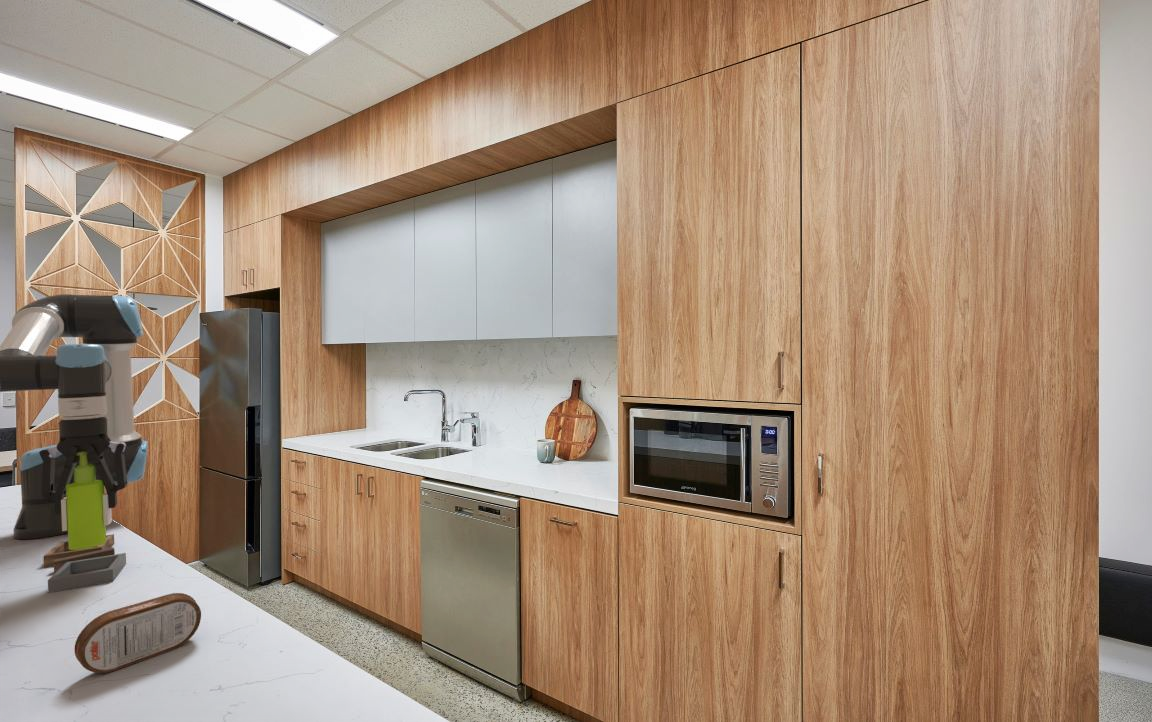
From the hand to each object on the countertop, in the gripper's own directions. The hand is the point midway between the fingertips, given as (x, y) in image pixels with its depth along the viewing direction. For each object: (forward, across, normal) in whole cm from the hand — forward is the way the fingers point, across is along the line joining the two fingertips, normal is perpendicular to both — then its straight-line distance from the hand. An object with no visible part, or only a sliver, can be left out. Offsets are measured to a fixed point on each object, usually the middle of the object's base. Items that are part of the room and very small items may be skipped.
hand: (87, 526), depth 114 cm
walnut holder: (+11, -6, +19) cm, 23 cm away
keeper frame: (+11, 0, 0) cm, 11 cm away
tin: (+11, +17, -46) cm, 50 cm away
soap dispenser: (+4, 0, 0) cm, 4 cm away
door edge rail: (+11, -3, +10) cm, 15 cm away
